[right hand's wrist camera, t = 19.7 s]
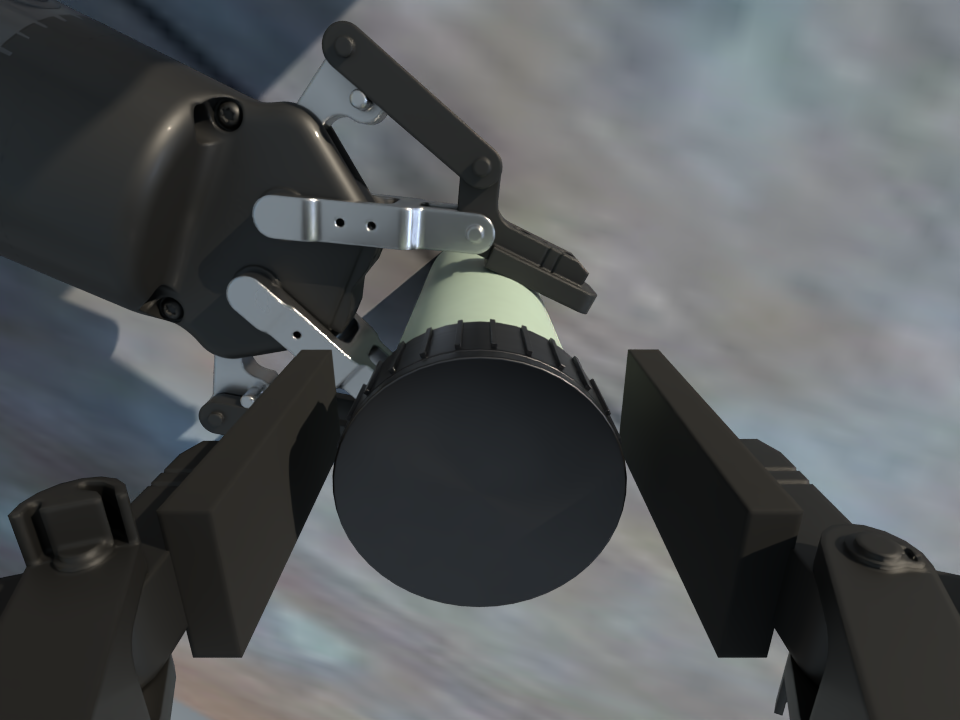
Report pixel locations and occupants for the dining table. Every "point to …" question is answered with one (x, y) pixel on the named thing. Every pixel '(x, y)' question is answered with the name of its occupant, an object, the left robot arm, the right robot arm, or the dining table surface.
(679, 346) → the dining table surface
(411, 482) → the lid
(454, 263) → the jar
